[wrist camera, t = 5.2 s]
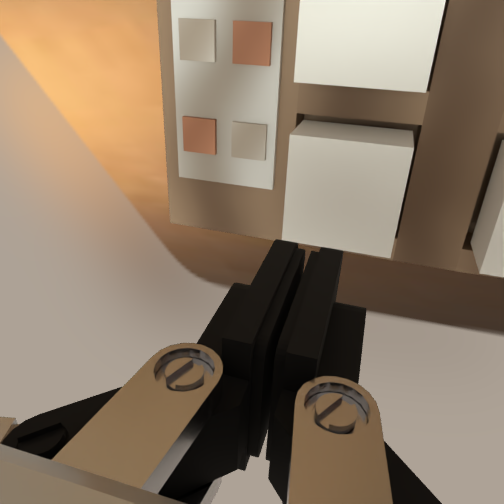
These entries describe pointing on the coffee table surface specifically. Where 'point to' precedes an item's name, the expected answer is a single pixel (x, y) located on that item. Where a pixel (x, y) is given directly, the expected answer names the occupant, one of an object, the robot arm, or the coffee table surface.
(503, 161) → the button
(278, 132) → the button board
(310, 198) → the button
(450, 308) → the coffee table surface
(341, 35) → the button
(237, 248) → the coffee table surface
